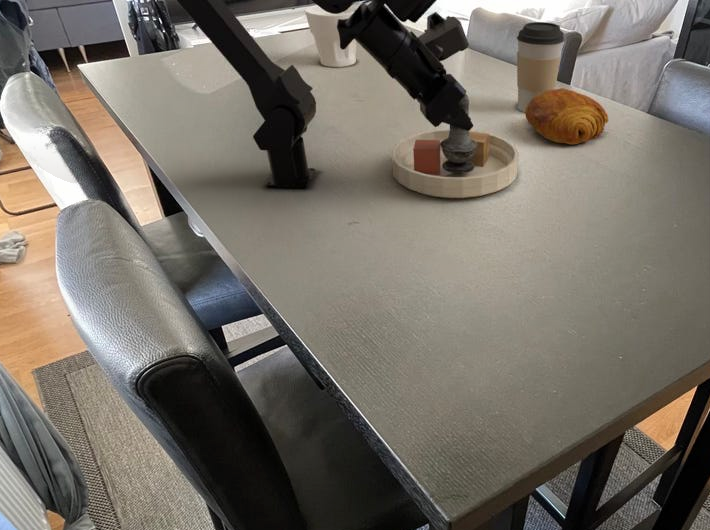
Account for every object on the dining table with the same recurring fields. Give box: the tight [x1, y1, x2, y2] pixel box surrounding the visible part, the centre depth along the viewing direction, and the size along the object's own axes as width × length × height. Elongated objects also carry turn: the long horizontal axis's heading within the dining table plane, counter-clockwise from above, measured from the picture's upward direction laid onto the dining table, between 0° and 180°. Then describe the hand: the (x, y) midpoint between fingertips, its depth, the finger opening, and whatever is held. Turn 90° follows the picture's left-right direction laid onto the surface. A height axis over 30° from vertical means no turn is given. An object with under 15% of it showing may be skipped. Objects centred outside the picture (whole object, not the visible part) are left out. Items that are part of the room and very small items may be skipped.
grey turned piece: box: [440, 93, 478, 173], centre depth 90 cm, size 6×6×12 cm
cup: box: [304, 4, 359, 68], centre depth 138 cm, size 12×12×11 cm
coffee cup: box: [516, 21, 565, 113], centre depth 115 cm, size 9×9×15 cm
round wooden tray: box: [391, 128, 520, 199], centre depth 95 cm, size 20×20×4 cm
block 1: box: [413, 140, 441, 174], centre depth 94 cm, size 4×4×4 cm
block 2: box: [469, 132, 491, 167], centre depth 97 cm, size 4×4×4 cm
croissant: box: [524, 87, 609, 145], centre depth 108 cm, size 14×16×8 cm
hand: (467, 123), depth 90 cm, fingers closed on grey turned piece, 3 cm apart
